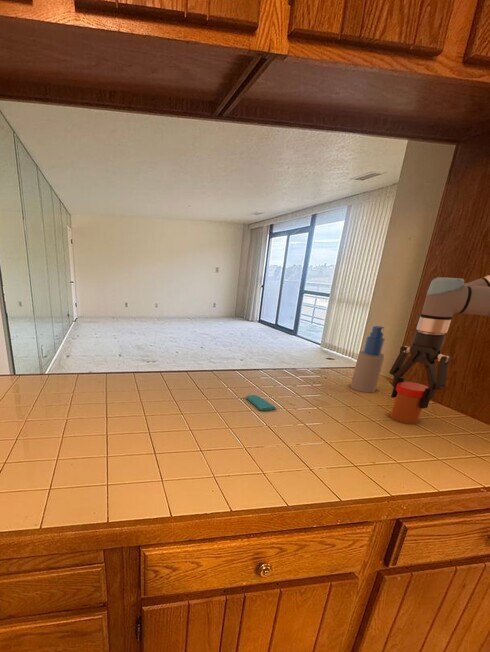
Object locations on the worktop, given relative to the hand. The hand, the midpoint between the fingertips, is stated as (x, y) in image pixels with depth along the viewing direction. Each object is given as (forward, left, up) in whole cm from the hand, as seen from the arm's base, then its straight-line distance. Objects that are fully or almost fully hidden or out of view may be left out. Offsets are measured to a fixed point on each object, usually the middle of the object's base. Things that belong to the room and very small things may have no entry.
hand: (408, 402), depth 112 cm
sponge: (+26, +38, -6) cm, 46 cm away
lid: (0, 0, +5) cm, 5 cm away
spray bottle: (+26, -12, -6) cm, 29 cm away
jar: (0, 0, -6) cm, 6 cm away
